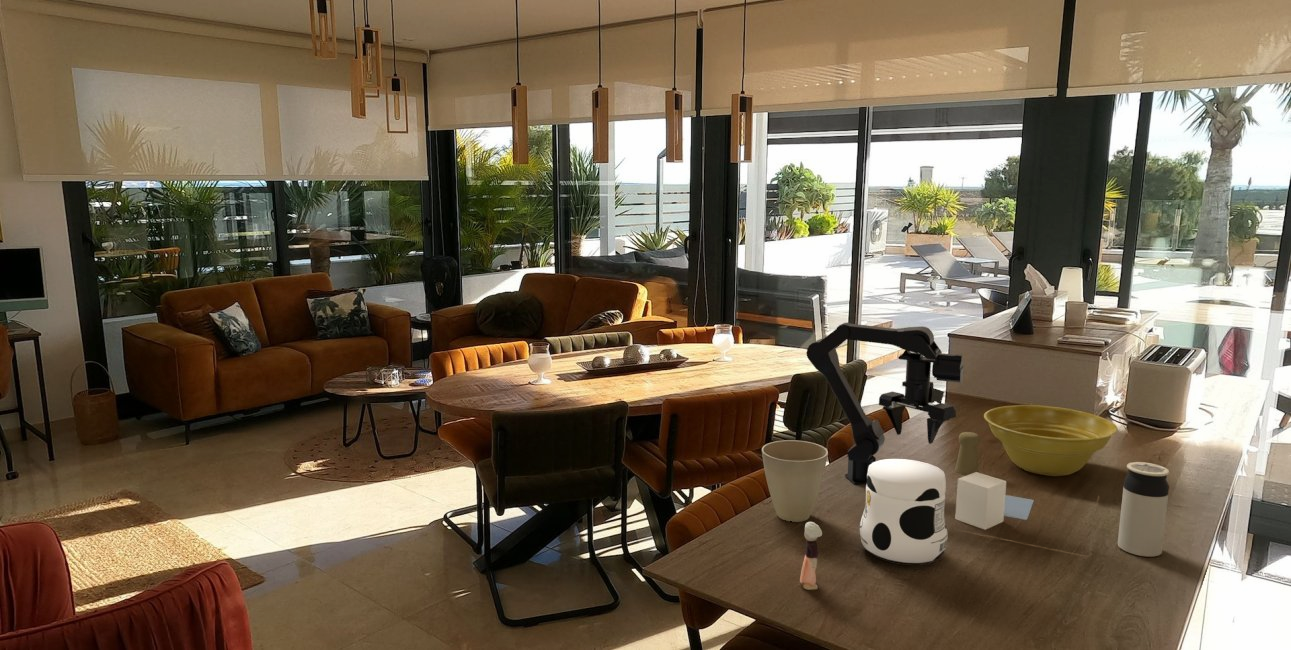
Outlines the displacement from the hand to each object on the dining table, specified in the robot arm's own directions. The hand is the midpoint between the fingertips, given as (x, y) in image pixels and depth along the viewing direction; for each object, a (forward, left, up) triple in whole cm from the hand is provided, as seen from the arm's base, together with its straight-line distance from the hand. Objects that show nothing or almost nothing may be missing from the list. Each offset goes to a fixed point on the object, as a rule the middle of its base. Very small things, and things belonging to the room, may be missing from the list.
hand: (914, 438), depth 204 cm
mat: (+15, -14, -13) cm, 24 cm away
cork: (+20, +8, -13) cm, 25 cm away
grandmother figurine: (-44, -44, -13) cm, 64 cm away
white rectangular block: (+5, -22, -13) cm, 26 cm away
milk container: (-20, -34, -13) cm, 42 cm away
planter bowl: (+43, +8, -13) cm, 46 cm away
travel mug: (+30, -41, -13) cm, 52 cm away
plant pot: (-36, -12, -13) cm, 40 cm away
